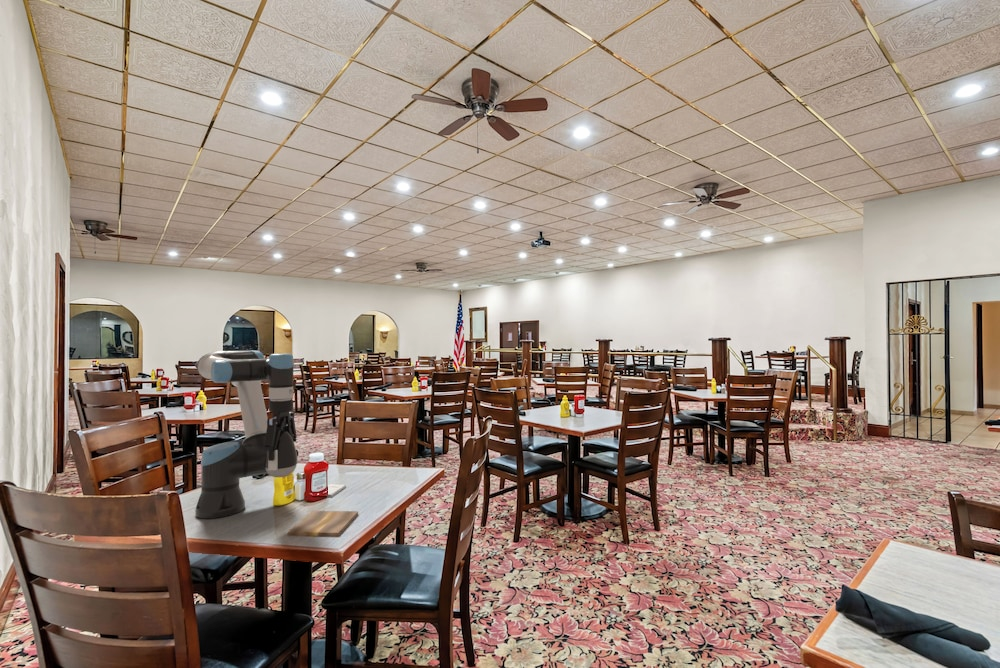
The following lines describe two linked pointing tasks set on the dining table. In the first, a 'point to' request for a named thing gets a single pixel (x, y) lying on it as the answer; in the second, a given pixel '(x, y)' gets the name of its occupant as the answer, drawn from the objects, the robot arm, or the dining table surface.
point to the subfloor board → (323, 523)
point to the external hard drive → (334, 489)
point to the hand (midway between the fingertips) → (281, 465)
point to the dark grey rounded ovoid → (284, 456)
